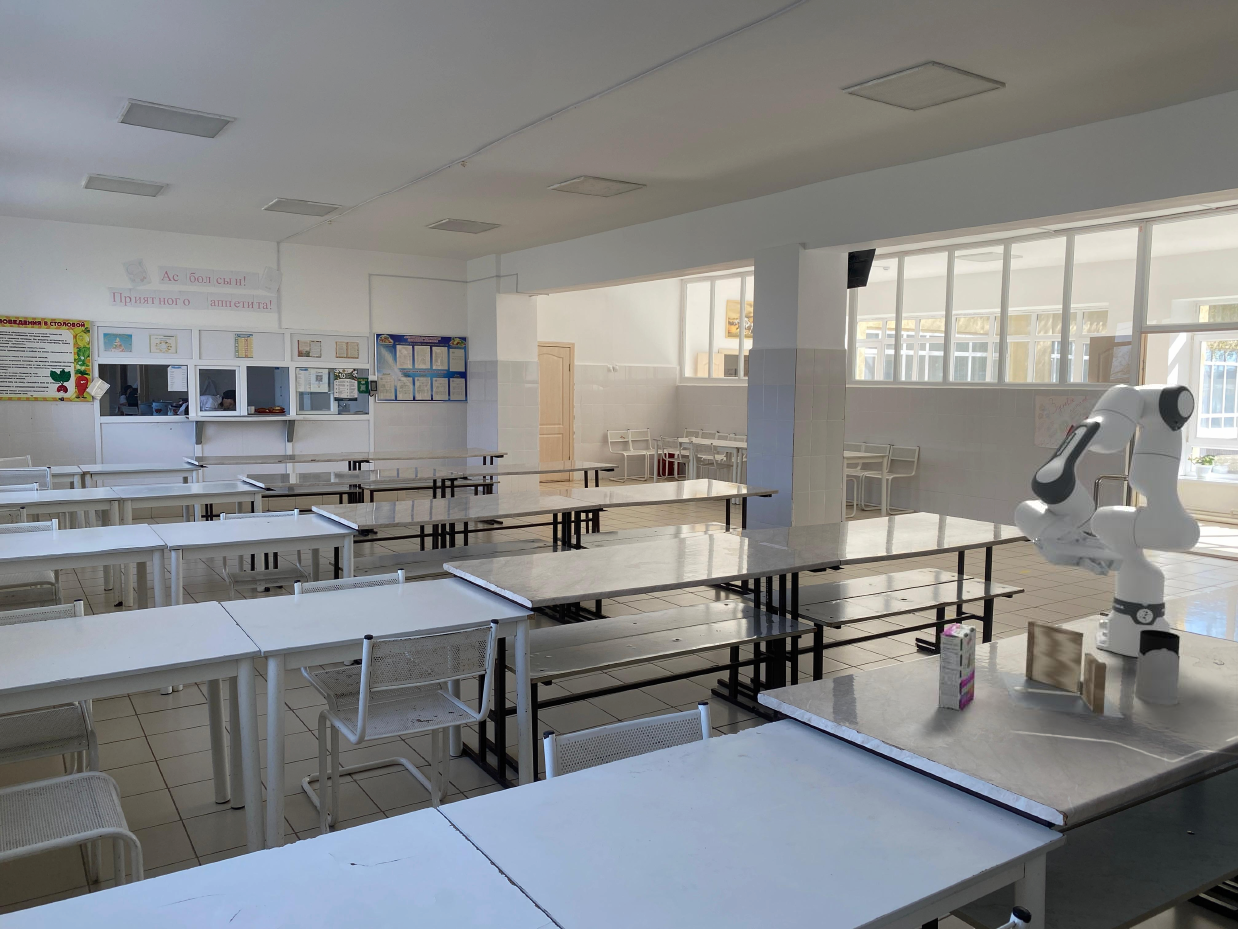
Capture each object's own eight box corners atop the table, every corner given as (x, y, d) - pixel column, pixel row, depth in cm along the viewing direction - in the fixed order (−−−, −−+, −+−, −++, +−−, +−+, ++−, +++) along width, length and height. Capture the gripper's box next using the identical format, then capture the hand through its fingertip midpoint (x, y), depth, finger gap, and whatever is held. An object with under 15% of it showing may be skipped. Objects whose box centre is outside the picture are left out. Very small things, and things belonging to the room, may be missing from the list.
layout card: (999, 673, 207) (999, 671, 207) (1095, 682, 201) (1095, 680, 201) (1015, 708, 183) (1015, 706, 183) (1124, 720, 177) (1124, 717, 177)
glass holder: (1138, 703, 187) (1142, 637, 186) (1123, 683, 201) (1126, 621, 200) (1184, 708, 185) (1188, 641, 183) (1165, 688, 198) (1169, 625, 197)
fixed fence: (1078, 693, 192) (1080, 647, 191) (1086, 694, 192) (1089, 647, 191) (1094, 713, 180) (1096, 663, 179) (1103, 714, 179) (1106, 664, 179)
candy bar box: (951, 693, 193) (954, 622, 192) (974, 697, 190) (977, 626, 189) (936, 706, 184) (939, 632, 183) (960, 711, 181) (963, 636, 180)
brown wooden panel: (1080, 691, 193) (1083, 633, 192) (1076, 693, 192) (1079, 634, 191) (1030, 676, 203) (1032, 620, 202) (1025, 677, 202) (1028, 621, 201)
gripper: (1033, 527, 202) (1072, 557, 190) (1102, 535, 208) (1144, 564, 195) (1023, 550, 205) (1060, 581, 192) (1091, 557, 210) (1132, 587, 198)
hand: (1103, 572), depth 194 cm, fingers closed
